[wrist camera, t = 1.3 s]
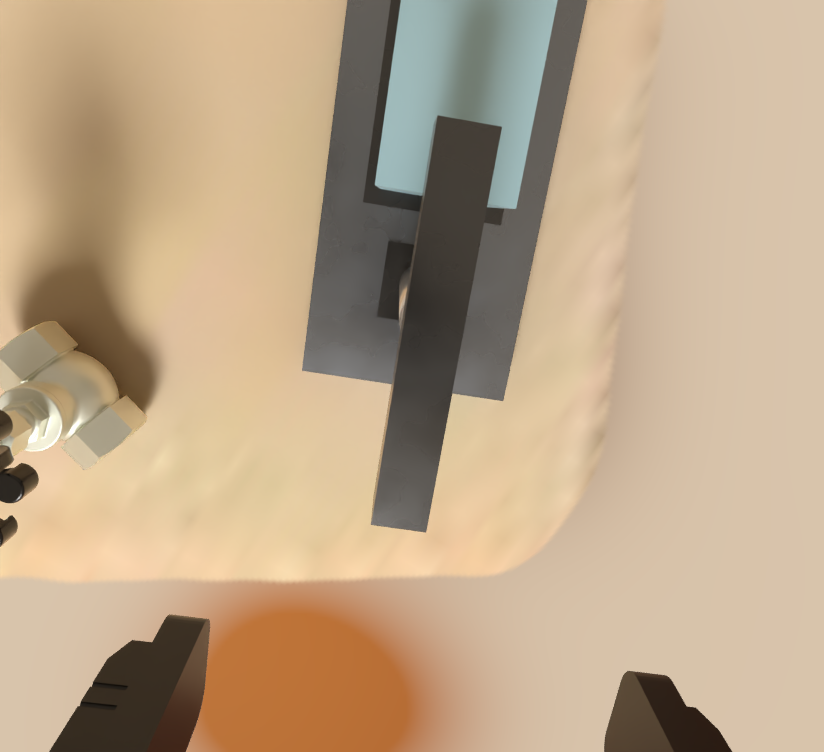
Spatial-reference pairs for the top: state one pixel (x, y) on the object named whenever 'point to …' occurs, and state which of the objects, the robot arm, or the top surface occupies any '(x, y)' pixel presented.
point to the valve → (55, 408)
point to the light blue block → (464, 84)
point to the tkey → (433, 318)
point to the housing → (398, 217)
